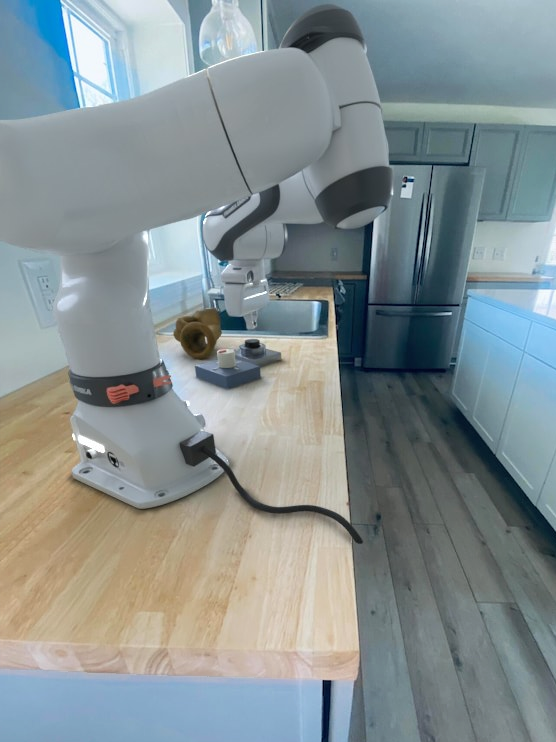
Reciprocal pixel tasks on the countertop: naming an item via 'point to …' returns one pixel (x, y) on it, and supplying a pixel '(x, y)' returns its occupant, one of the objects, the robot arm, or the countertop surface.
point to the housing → (257, 355)
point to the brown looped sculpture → (198, 332)
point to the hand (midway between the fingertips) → (252, 328)
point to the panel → (228, 373)
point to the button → (252, 343)
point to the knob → (226, 358)
